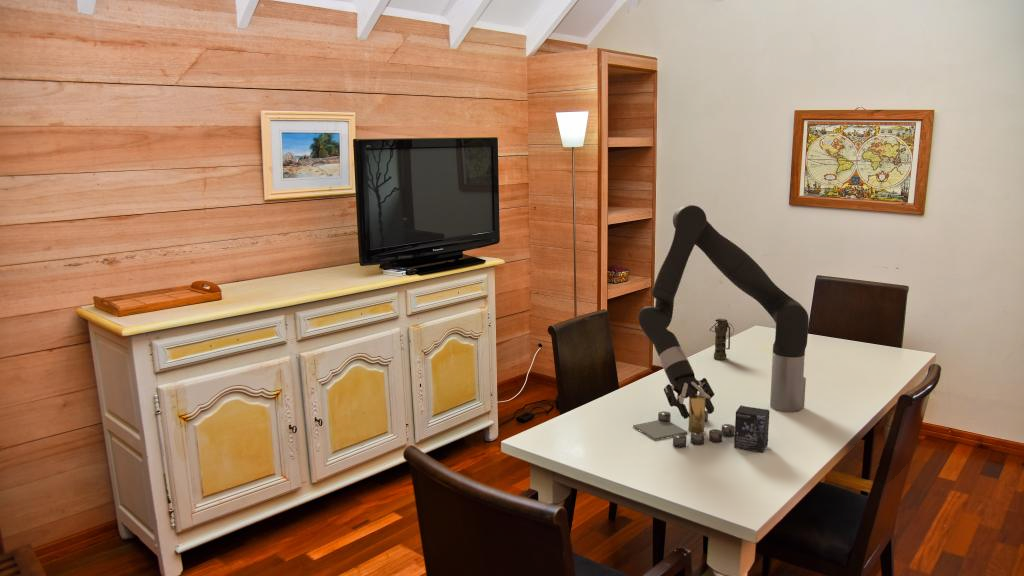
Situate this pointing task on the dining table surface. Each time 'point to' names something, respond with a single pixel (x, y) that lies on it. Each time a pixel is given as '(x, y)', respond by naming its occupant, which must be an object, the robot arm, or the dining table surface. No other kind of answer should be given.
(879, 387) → the dining table surface
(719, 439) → the spacers
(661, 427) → the pad
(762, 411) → the box
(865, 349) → the dining table surface
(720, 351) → the grenade
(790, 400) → the robot arm
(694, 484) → the dining table surface
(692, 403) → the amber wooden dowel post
